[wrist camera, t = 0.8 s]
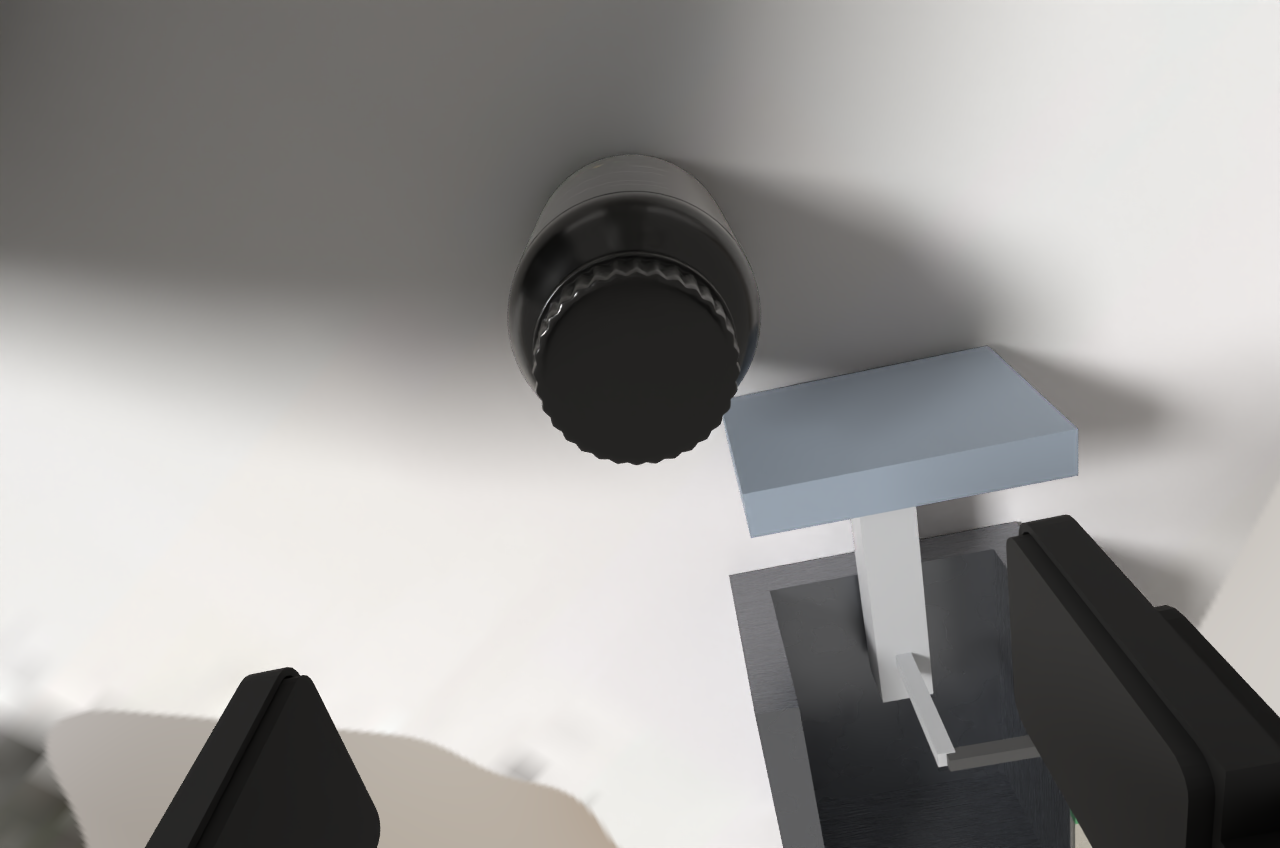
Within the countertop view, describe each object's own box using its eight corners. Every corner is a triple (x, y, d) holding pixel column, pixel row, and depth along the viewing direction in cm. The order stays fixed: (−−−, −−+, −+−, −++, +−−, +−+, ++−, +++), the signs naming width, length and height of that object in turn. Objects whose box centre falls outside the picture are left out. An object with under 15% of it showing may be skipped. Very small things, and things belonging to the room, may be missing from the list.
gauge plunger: (719, 400, 33) (750, 525, 25) (1043, 334, 32) (1182, 442, 24) (770, 660, 38) (808, 831, 30) (1047, 610, 37) (1162, 773, 29)
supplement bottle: (751, 305, 32) (818, 460, 21) (576, 365, 32) (552, 542, 22) (693, 117, 29) (735, 182, 18) (503, 188, 30) (433, 292, 19)
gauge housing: (729, 575, 37) (756, 722, 29) (1016, 521, 36) (1121, 658, 28) (777, 805, 43) (810, 977, 35) (1024, 764, 42) (1113, 931, 34)
